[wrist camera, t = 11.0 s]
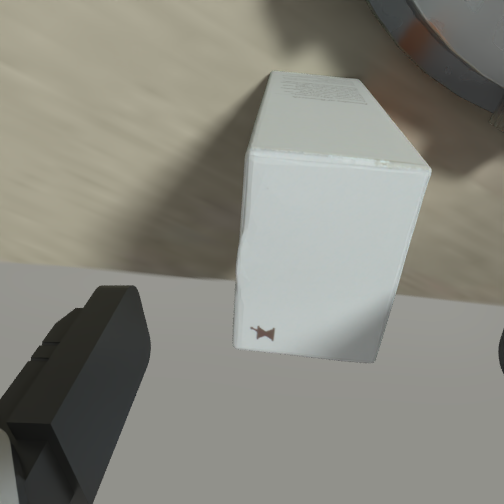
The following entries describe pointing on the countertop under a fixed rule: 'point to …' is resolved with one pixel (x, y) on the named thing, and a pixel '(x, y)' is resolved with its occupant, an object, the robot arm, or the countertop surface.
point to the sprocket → (469, 36)
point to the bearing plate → (433, 54)
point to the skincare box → (323, 220)
